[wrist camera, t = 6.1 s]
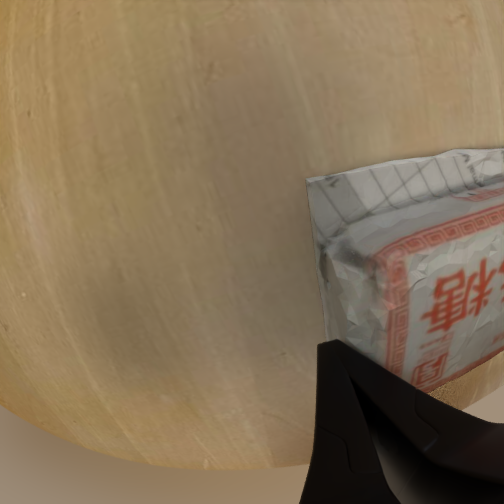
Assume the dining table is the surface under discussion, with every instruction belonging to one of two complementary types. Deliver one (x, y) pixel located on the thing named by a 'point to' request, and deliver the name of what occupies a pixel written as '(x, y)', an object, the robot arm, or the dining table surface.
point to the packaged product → (414, 262)
